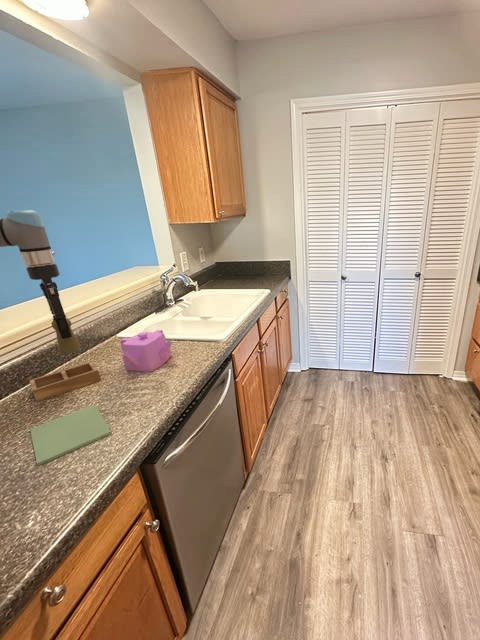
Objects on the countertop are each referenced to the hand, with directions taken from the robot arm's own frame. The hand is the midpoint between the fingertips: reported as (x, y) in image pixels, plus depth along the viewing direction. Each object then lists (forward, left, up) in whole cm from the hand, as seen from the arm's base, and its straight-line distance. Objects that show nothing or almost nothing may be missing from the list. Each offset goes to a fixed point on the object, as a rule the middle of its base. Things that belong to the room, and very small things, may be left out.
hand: (65, 335), depth 107 cm
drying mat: (+31, -8, -17) cm, 36 cm away
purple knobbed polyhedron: (+5, +22, -18) cm, 29 cm away
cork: (0, 0, -5) cm, 5 cm away
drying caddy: (0, -4, -17) cm, 18 cm away
